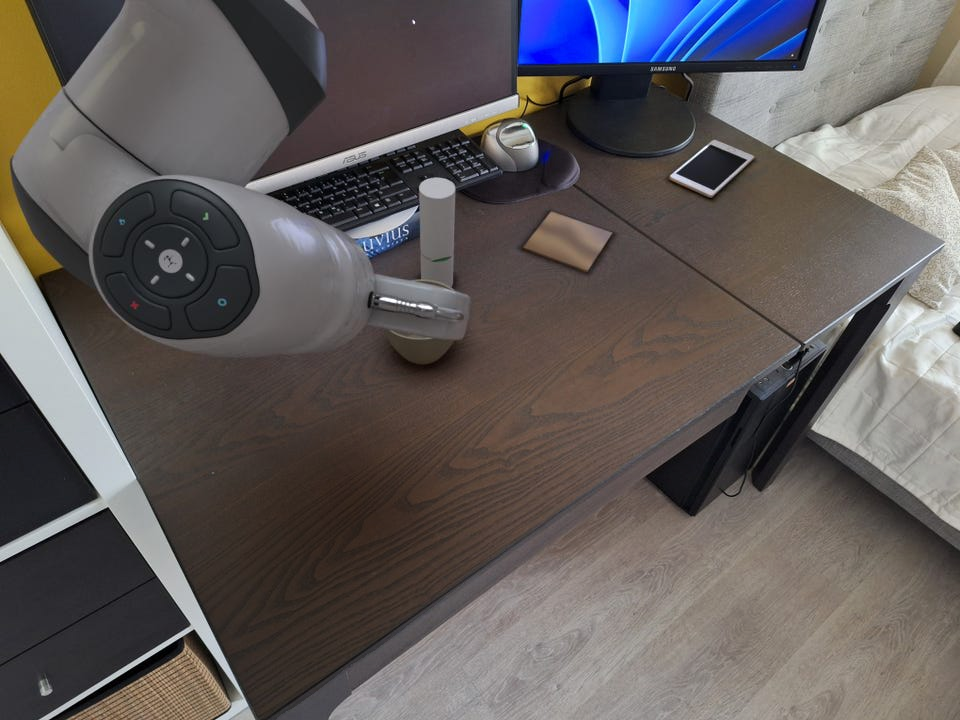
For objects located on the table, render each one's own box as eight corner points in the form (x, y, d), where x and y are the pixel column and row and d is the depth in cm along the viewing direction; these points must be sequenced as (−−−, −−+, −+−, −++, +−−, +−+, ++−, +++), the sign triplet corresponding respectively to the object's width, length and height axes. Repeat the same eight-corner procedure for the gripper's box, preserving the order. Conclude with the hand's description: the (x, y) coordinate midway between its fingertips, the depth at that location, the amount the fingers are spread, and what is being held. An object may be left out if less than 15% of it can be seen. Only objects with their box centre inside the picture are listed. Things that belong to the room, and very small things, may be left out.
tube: (415, 287, 90) (412, 192, 78) (429, 268, 92) (428, 174, 81) (444, 296, 89) (446, 202, 77) (457, 277, 91) (461, 183, 80)
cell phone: (754, 159, 115) (755, 156, 115) (711, 198, 107) (712, 195, 106) (713, 142, 118) (714, 139, 118) (668, 179, 110) (669, 176, 109)
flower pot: (456, 317, 86) (457, 275, 81) (468, 376, 80) (470, 334, 74) (378, 324, 85) (374, 281, 79) (384, 384, 78) (380, 342, 73)
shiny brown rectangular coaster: (587, 273, 93) (587, 270, 93) (522, 249, 96) (523, 246, 96) (612, 234, 99) (612, 232, 99) (550, 213, 102) (551, 211, 102)
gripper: (466, 268, 43) (487, 284, 57) (171, 213, 45) (260, 241, 59) (448, 364, 44) (473, 357, 57) (156, 305, 45) (248, 312, 59)
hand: (363, 298), depth 58 cm, fingers closed
